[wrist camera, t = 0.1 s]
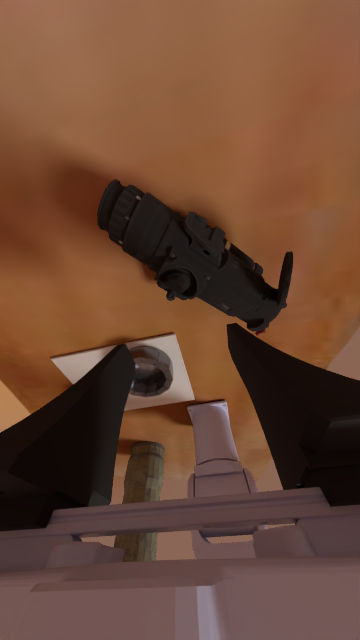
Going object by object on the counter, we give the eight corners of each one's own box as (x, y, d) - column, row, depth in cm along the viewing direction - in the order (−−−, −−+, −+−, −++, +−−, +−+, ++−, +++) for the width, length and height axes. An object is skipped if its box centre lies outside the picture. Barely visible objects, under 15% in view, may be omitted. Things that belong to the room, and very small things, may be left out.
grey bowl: (177, 378, 27) (178, 392, 25) (131, 386, 28) (128, 400, 26) (164, 340, 23) (163, 353, 21) (110, 351, 24) (104, 364, 21)
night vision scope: (127, 217, 18) (151, 76, 9) (242, 294, 23) (327, 252, 14) (90, 269, 14) (70, 129, 6) (232, 344, 20) (334, 329, 11)
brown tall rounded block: (173, 453, 43) (165, 970, 13) (132, 457, 44) (38, 949, 14) (166, 438, 39) (129, 1166, 9) (121, 443, 40) (-53, 1116, 10)
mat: (194, 397, 31) (194, 399, 30) (100, 412, 33) (99, 414, 32) (174, 333, 23) (174, 334, 22) (52, 357, 25) (50, 359, 24)
